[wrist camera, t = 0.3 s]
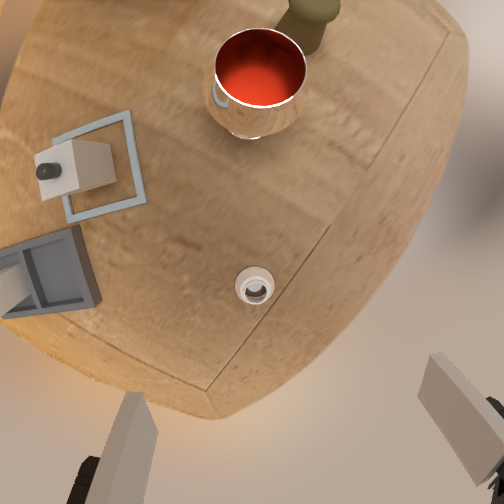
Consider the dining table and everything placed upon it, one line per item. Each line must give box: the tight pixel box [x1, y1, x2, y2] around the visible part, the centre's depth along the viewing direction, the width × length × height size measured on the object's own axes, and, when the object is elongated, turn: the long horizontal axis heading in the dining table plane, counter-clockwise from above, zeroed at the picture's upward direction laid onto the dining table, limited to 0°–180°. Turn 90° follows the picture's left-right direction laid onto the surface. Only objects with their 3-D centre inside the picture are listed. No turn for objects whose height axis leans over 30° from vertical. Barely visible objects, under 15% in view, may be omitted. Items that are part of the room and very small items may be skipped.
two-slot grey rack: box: [0, 225, 102, 319], centre depth 36 cm, size 11×21×2 cm, turn 100°
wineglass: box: [203, 28, 309, 140], centre depth 24 cm, size 8×8×18 cm
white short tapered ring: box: [235, 267, 275, 304], centre depth 38 cm, size 5×3×5 cm
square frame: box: [52, 109, 148, 224], centre depth 33 cm, size 12×12×1 cm
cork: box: [275, 0, 341, 56], centre depth 25 cm, size 6×6×11 cm
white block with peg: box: [34, 139, 117, 201], centre depth 28 cm, size 5×5×12 cm
